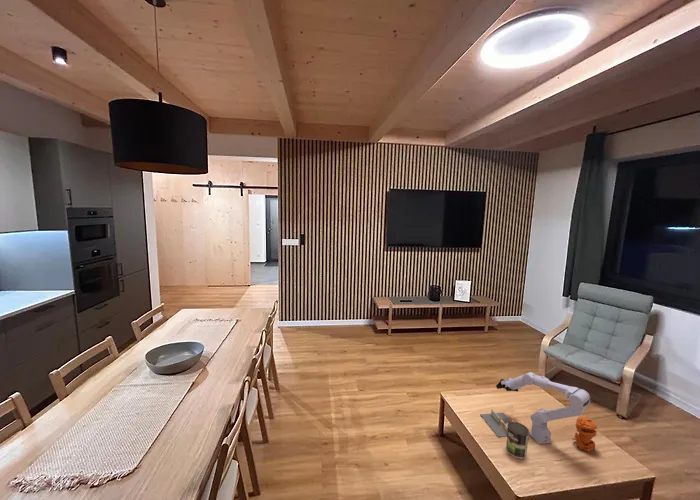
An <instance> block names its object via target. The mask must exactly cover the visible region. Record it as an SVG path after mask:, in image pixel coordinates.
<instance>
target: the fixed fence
mask: <svg viewBox="0 0 700 500" xmlns="http://www.w3.org/2000/svg"><path fill="white" fill-rule="evenodd" d="M499 425H500V426H501V427H502V428H503V430H504V431H505V432H506V433H507V431H508V426H507V425H506V424H505V423H504V422H503V420H502V417H499Z"/></svg>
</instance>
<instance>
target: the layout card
mask: <svg viewBox="0 0 700 500" xmlns="http://www.w3.org/2000/svg"><path fill="white" fill-rule="evenodd" d="M496 414H497V415H498V416H499V417H502V420H503V422H504V423H505V424H506V425H507V426H508V423H510V422H513V421H512V420H511V419H510V418H509V417H508V416H507V415H506V413H504V412H496ZM480 417H481V418H482V419H483V421H484V422H485V423H486V424H487V426H488V427H489V428H490V429H491V431H492V432H493V433H494V434H495V436H496V437H497V438H507V433H506V432H505V431H504V430H503V428H502V427H501V426H500V425H499V423H498V422H497V421H496V420H495V419H494V417H493V416H492V415H491V412H490V413H480Z"/></svg>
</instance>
